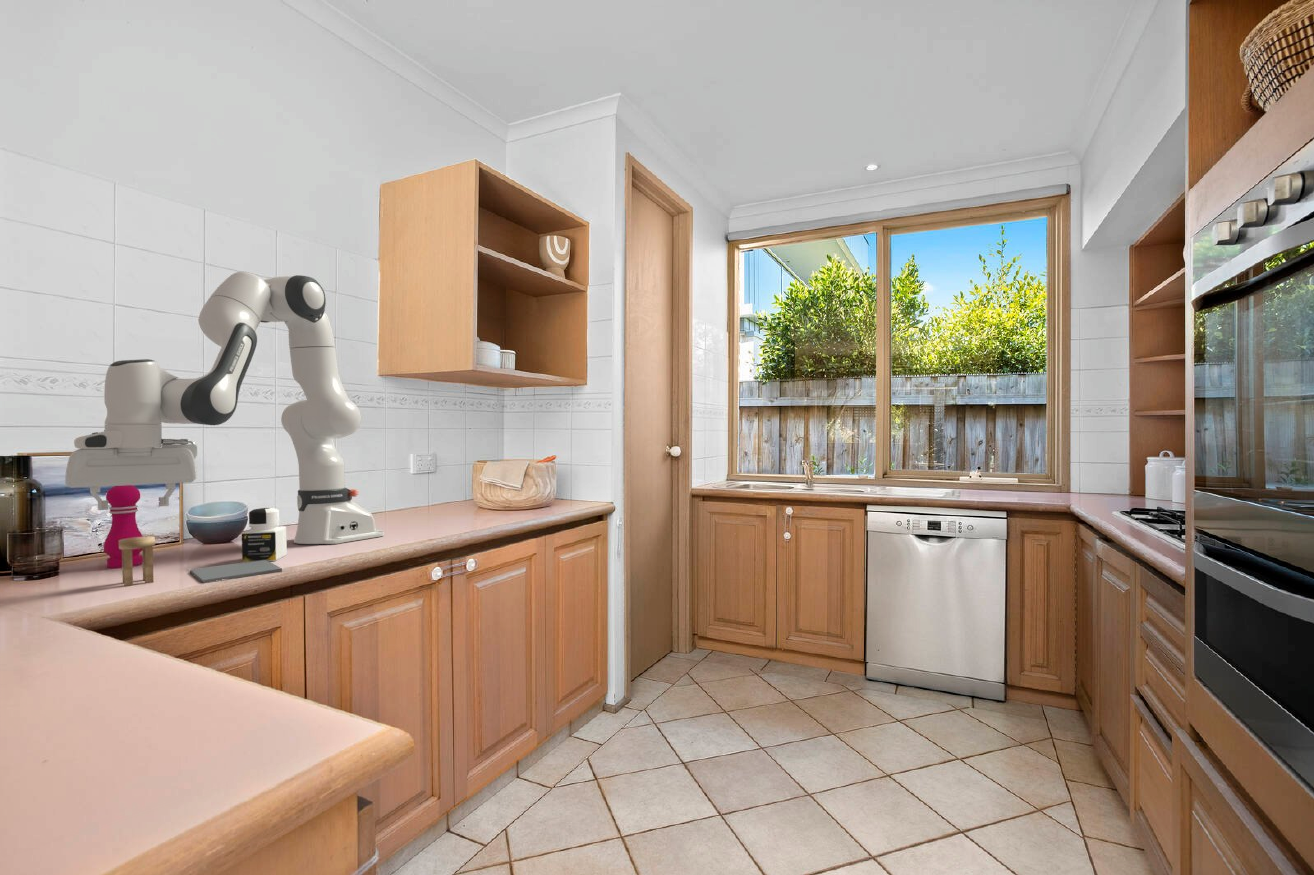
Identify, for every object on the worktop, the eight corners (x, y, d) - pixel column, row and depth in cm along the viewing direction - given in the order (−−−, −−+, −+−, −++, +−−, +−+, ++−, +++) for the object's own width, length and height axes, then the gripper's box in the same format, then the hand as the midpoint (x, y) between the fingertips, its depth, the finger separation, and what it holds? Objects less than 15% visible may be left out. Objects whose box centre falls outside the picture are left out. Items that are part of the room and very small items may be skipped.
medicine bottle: (241, 563, 145) (240, 511, 144) (254, 557, 152) (253, 507, 151) (275, 561, 146) (274, 509, 146) (287, 555, 153) (286, 506, 153)
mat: (264, 562, 145) (264, 559, 145) (282, 571, 135) (282, 568, 135) (190, 572, 135) (190, 569, 135) (203, 583, 126) (202, 580, 125)
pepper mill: (153, 562, 147) (151, 476, 147) (124, 568, 140) (122, 479, 140) (125, 561, 148) (123, 476, 148) (95, 568, 141) (92, 479, 140)
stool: (153, 577, 131) (152, 535, 131) (157, 582, 127) (156, 538, 127) (118, 582, 127) (117, 539, 127) (121, 587, 123) (120, 542, 123)
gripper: (194, 438, 136) (194, 502, 136) (64, 439, 122) (64, 510, 122) (199, 438, 132) (200, 504, 132) (65, 439, 117) (66, 513, 117)
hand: (134, 507), depth 126 cm, fingers open, 8 cm apart
